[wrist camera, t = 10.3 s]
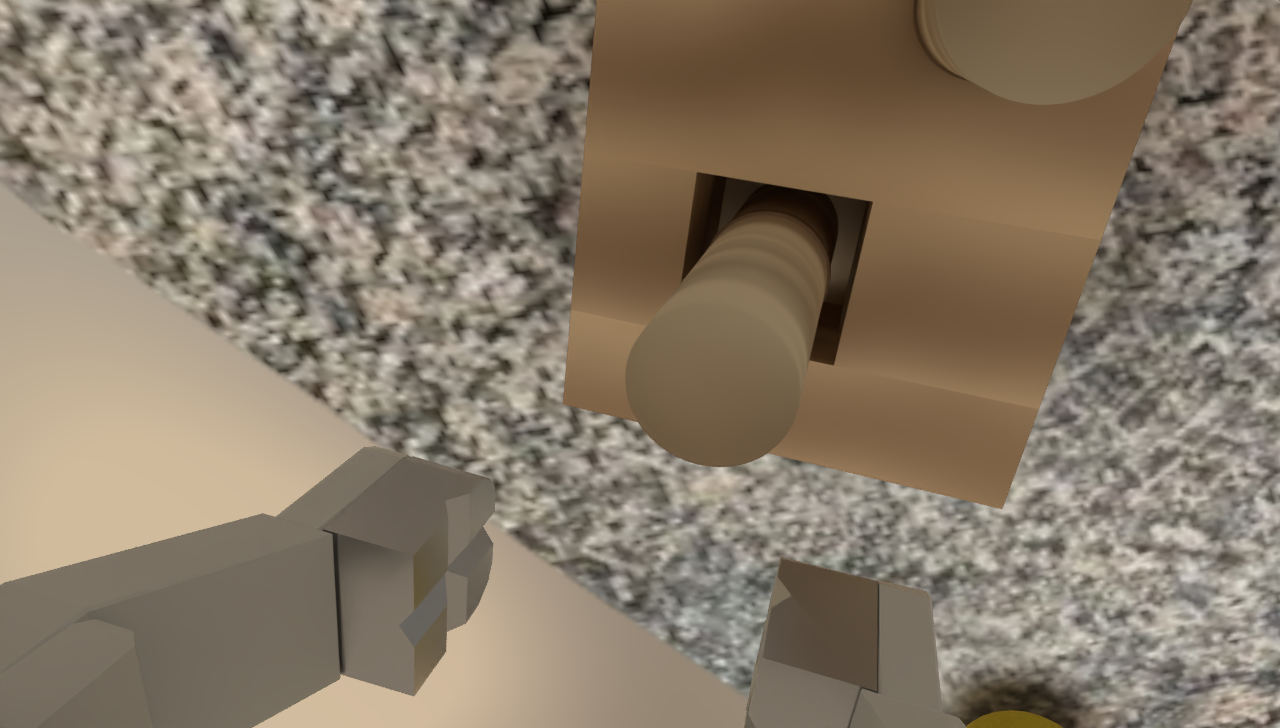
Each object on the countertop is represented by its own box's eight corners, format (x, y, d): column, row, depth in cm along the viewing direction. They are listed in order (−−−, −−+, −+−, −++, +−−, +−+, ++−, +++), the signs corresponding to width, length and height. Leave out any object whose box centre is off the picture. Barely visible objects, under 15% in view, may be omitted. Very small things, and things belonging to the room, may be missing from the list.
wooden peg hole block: (684, -119, 23) (453, -298, 11) (1128, -78, 21) (1507, -250, 8) (631, 324, 29) (442, 544, 16) (973, 397, 26) (1056, 721, 14)
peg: (745, 168, 24) (631, 284, 13) (851, 185, 23) (820, 322, 12) (729, 266, 25) (613, 446, 14) (828, 285, 24) (784, 488, 14)
